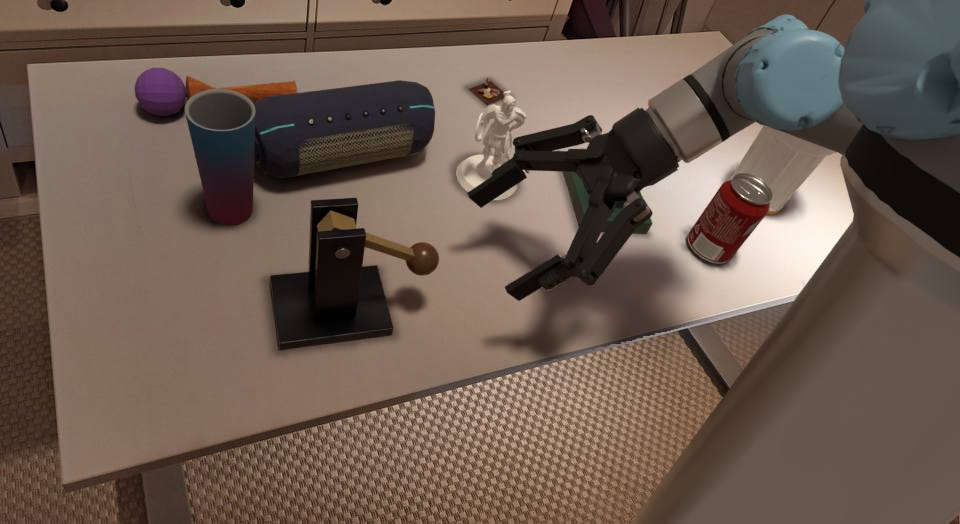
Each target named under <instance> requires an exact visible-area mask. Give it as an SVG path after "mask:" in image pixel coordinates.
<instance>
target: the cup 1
mask: <svg viewBox="0 0 960 524" xmlns="http://www.w3.org/2000/svg"><path fill="white" fill-rule="evenodd" d="M253 103H254V102H253V101H251V100H250V99H249V98H248V97H246V96H245V95H243V94H241V93H238V92H236V91H232V90H226V89H211V90H206V91H202V92H199V93H197V94H195V95H194V96H192V97H191V98H190V99H189V100H188V101H186V103H185V104H184V105H185V106H184V114H185V118H186V122H187V128H188V131H189V136H190V140H191V144H192V149H193V153H194V157H195V161H196V165H197V170H198V174H199V179H200V183H201V188H202V192H203V196H204V199H205V204H206V208H207V213H208V216H209V217H210V219H212V221H214V222H215V223H218V224H220V225H224V226H225V225H226V226H234V225H235V226H236V225H239V224H243V223H244V222H246V221H248V220H249V219H250V217H251V216H252V214H253V209H254V177H255V161H254V148H255V114H256V111H255V106H254V104H253Z"/></svg>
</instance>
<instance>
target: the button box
mask: <svg viewBox="0 0 960 524" xmlns="http://www.w3.org/2000/svg"><path fill="white" fill-rule="evenodd" d="M563 176H564V179H565V182H566V183H565V184H566V186H567V189H568V193H569V197H570V199H571V203H572V207H573V211H574V213H575V218H576V221H577V224H578V227H579V226H580V224H581V222H582V219H583V217H584V215H585V213H586V211H587V208H588V206H589V203H588V201H589V198H590V195H589V194H588V193H587V191H586V189H585V188H584V184H583V181H582V180H581V179H580V178H579V176H578V175H577V173H575V172H563ZM638 196H639V197H640V198H643V199H644V197H643V195H642V191H640V192H639V193H638ZM625 202H627V201H621V202H617V204H616V207H615V209H614V211H613V213H612V215H611V217H610V218H608V219H607V221H606V223H605V225H604V227H603V229H602V232H603V233H604V232H605V231H606V229H607V228H608V227H609V225H610V224H611V223H612V221H613V220H614V219H615V217H616V216H617V215H618V213H619V212H620V211H621V210H623V205H624V203H625ZM653 224H654V223H653V220H652V218H651V217H650V218H649V219H648V220H647V221H645V222H644V223H643V224H641V225H640V226H639V227H637V228H636V229H635V230H634V232H633V233H632V234H639V235H647V234H648V232H649V231H650V229H651V228H652V226H653Z"/></svg>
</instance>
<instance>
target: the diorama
mask: <svg viewBox="0 0 960 524" xmlns="http://www.w3.org/2000/svg"><path fill="white" fill-rule="evenodd" d="M468 90H469V91H470V92H471V93H472V94H473V95H475V96H476V97H477V98H478V99H479V100H480V101H482V103H484V105H486V106H489V105H492V104H493V103H494V104H495V103H497V102H499V101H501V100H504V98H505V97H504V95H503V93H504V92H505V91H504V90H503V89H501V88H500V87H499V86H498V85H497V84H495V82H493V81H491V80H489V77H488V76H487V77H486V80H485V82H483V83H480V84H478V85H475V86H472V87H469V88H468Z"/></svg>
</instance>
